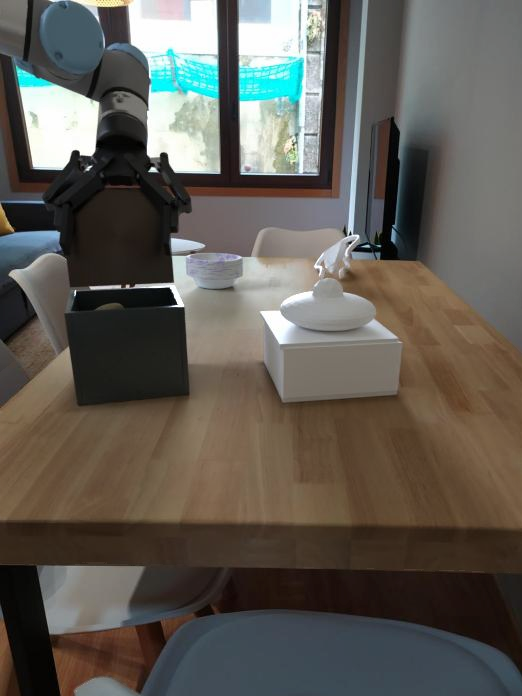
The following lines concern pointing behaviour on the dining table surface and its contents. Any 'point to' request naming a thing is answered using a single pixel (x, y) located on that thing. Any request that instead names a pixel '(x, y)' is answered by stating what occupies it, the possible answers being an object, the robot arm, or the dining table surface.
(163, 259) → the bin lid
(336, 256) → the white angular legged piece
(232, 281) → the paper bowls
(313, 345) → the butter dish
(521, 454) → the dining table surface
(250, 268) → the dining table surface
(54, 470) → the dining table surface
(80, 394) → the trash can
